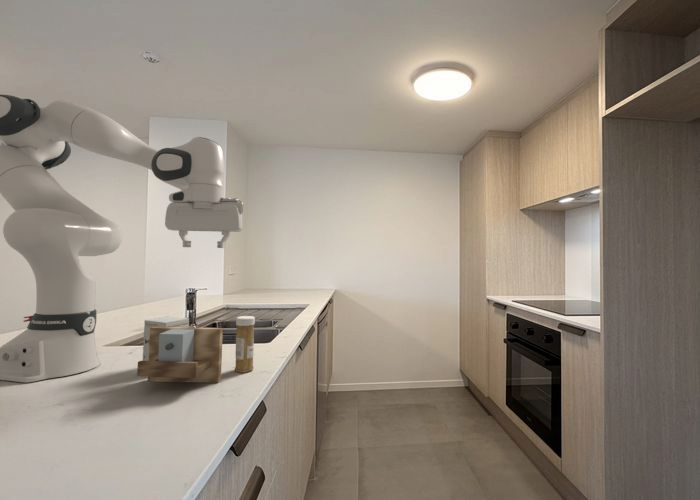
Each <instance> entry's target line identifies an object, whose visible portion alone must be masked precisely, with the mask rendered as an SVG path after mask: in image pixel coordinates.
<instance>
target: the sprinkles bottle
mask: <svg viewBox="0 0 700 500" xmlns="http://www.w3.org/2000/svg"><path fill="white" fill-rule="evenodd" d="M235 319H236V320H235V325H236V333H235V334H236V336H235V337H236V338H235V367H234V371H235V372H237V373H243V374H245V373H249V372H251V371H253V369H254V352H255V351H254V348H255V347H254V342H255V340H254V339H255V337H254V334H255V333H254V332H255V323H256V317H255V316H253V315H252V316H251V315H240V316H237V317H236V318H235Z"/></svg>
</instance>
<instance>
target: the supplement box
mask: <svg viewBox="0 0 700 500" xmlns="http://www.w3.org/2000/svg"><path fill="white" fill-rule="evenodd" d="M143 325H144V327H143V330H144V331H143V344H142V345H143V346H142V361H149V341H150V328H151V327H190V318H188V317H187V318H185V317H180V316H179V317H178V316H173V315H172V316H171V315H167V316H166V315H165V316H160V317H155V318H154V317H153V318H149V319H145V320H144V323H143Z"/></svg>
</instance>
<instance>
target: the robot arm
mask: <svg viewBox="0 0 700 500" xmlns="http://www.w3.org/2000/svg"><path fill="white" fill-rule="evenodd" d="M0 141H1V144H0V195H1V196H2V197H3V199H4V200H6V202H7V203H8V205H10V207H11V208H12V209H13V210H14V211H13V212H12V213H11V214H9V216H7V218H6V220H5V221H4V225H3V227H2V232H3V233H2V234H3V236H4V240H5V242H6V243H7V244H8V245H9V247H11V248H12V249H13V250H15V251H16V252H17V253H19V254H20V255H21V256H22V257H23V258H24V259H25V260H26V261H27V263H28V265H29V267H30V268H31V270H32V273H33V274H34V275H33V276H34V279H35V283H36V285H35V286H36V304H35V305H36V306H35V313H34V314H33V315H28V316H24V317H23V319H24V320H23V321H22V322H24V323H26V322H28V324H27V326H26V328H27V329H25V330H24V331H23V332H21V333H19V334H18V335H17V336H15V337H14V338H12V339H10V340H9V341H8V342H6V343H4V344H2V346H0V380H1V381H9V382H19V383H32V382H33V383H34V382H38V381H42V380H47V379H53V378H60V377H61V378H62V377H66V376H71V375H72V376H73V375H75V374H79V373H80V374H81V373H83V372H86V371H87V372H88V371H90V370H92V369H95V368H96V367H98V366H99V365H100V364H101V361H100V359H99V358H100V357H99V356H98V350H97V345H96V338H95V335H96V334H95V329H96V324H97V309H95V307H96V305H95V304H96V290H97V287H96V286H97V282H96V279H95V278H94V276H93V275H92V274H90V273H88V272H86V271H85V270H84V269H83V266H82V265H81V263H80V260H79V257H97V256H98V257H99V256H102V255H103V256H104V255H108V254H112V253H114V252H115V251H117V250H118V249H119V247H120V246H121V243H122V240H123V234H122V233H123V232H122V230H121V228H120V226H119V225H118V224H117V223H115V222H114V221H112V220H110V219H108V218H106V217H104V216H102V215H100V214H98V213H97V212H96V211H95V210H93V209H91V208H90V207H89V206H87V204H85V203H83V202H81V201H80V200H78V199H77V198H76V197H75V196H73V195H72V194H71V193H69V192H68V191H66V189H65V188H64V187H62V185H61V184H60V183H59V182H58V181H57V180H56V179H55V178H54V176H52V174H50V172H49V171H48V170H50V169H52V168H55V167H58V166H60V165H62V164H63V163H64V162H66V161H67V159H69V157H70V156H71V153H72V148H71V146H70V144H73V145H75V146H77V147H79V148H81V149H84V150H87V151H89V152H92V153H95V154H98V155H102V156H104V157H108V158H111V159H117V160H120V161H124V162H127V163H130V164H134V165H138V166H141V167H144V168H147V169H148V170H151V171H152V173H153V175H154V176H155V178H157V179H159V180H160V181H161V182H163V183H165V184H167V185H170V186H172V187H174V188H176V189H178V190H179V191H175V192H172V193H170V194H169V196H168V200H169V202H170V203H169V204H168V205H167V207H166V210H165V218H164V226H165V228H166V229H167V230H169V231H172V232H173V231H174V232H175V231H176V232H177V231H178V235H179V238H180V239H181V240H182V248H192V241H191V240H188V238H187V236H188V233H189V232H218V233H219V232H220V233H221V236H222V237H221V239H220V241H216V242H217V243H216V244H217V246H216V247H217V249H225V247H226V242H227V240H228V239H229V237H230V234H231V233H238V232H239V233H240V232H242V230H243V227H244V225H243V211H244V204H243V202H242V201H241V200H240V199H238V198H237V197H236V198H235V197H233V198H228V197H224V184H223V177H224V173H225V167H224V166H225V162H224V161H225V159H224V152H223V149H222V147H221V146H220V144H219V143H217V142H216V141H214V140H211V139H209V138H207V137H202V136H201V137H200V136H196V137H193V138H192V139H191V140H190V141H188V142H187V143H184V144H181V145H177V146H174V147H164V148H161V149H159V150H158V149H155V148H154V147H152V146H150V145H149V144H147V143H146V142H144V141H143V140H141V139H140V138H139V137H137V136H136V135H135V134H133V133H132V132H131V131H129V130H128V129H127V128H126V127H124V126H123V125H122V124H120V123H118V122H117V121H116V120H114V119H113V118H111V117H109V116H108V115H106V114H104V113H102V112H99V110H98V111H97V110H95V109H94V108H91V107H88V106H86V105H82V104H80V103H76V102H72V101H69V100H63V99H62V100H61V99H60V100H54V101H52V102H50V103H48V104H47V106H45V107H40V106H39V105H38V103H37V102H36V101H34V100H33V99H30V98H20V97H17V96H14V95H9V94H0ZM69 143H70V144H69ZM230 232H231V233H230Z"/></svg>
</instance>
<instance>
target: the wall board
mask: <svg viewBox="0 0 700 500" xmlns="http://www.w3.org/2000/svg"><path fill="white" fill-rule="evenodd" d="M171 329H194V352H193V361H192V362H179V361H158V355H159V334H160V333H163V332H166V331H168V330H171ZM223 329H224V328H223V327H196V326H195V327H192V326H191V327H190V326H189V327H151V328H150V341H149V361H143V360H139V361H137V377H141V378H143V377H144V378H147V382H163V383H164V382H167V383H168V382H169V383H170V382H171V383H214V384H215V383H220V382H221V381H222V360H223V359H222V358H223V357H222V356H223V336H224V335H223V331H224V330H223ZM137 377H136V378H137Z"/></svg>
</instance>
